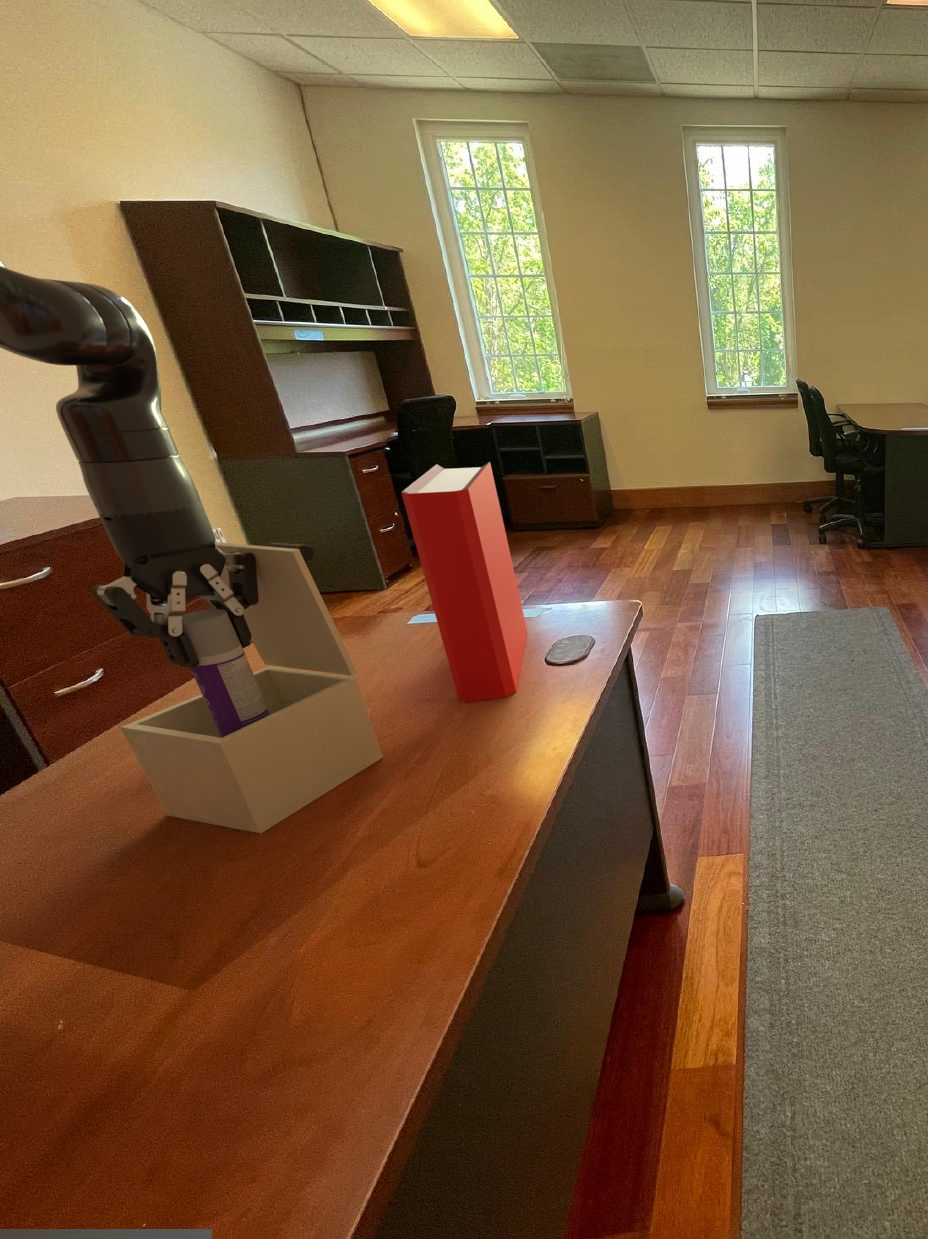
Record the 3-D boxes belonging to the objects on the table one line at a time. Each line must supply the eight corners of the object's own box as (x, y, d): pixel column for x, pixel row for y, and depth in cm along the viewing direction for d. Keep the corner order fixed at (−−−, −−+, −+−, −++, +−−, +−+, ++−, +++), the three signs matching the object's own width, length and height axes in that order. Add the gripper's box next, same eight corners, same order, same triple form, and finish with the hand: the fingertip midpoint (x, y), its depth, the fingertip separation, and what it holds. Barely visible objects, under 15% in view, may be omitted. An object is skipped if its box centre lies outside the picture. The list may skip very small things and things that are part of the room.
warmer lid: (292, 551, 74) (335, 534, 79) (197, 543, 77) (244, 527, 82) (352, 675, 83) (387, 654, 87) (264, 664, 86) (303, 644, 90)
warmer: (260, 833, 74) (219, 743, 69) (166, 815, 77) (120, 727, 72) (383, 757, 88) (356, 677, 83) (300, 744, 91) (268, 666, 86)
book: (480, 638, 125) (436, 464, 112) (527, 632, 127) (490, 461, 114) (457, 704, 101) (398, 494, 88) (515, 695, 104) (466, 490, 91)
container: (212, 741, 77) (157, 621, 71) (255, 721, 81) (207, 606, 75) (243, 747, 76) (190, 626, 70) (285, 727, 80) (238, 610, 74)
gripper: (200, 488, 74) (255, 629, 81) (28, 516, 62) (111, 680, 69) (252, 492, 73) (304, 635, 80) (88, 521, 60) (167, 688, 67)
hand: (215, 655), depth 74 cm, fingers closed on container, 4 cm apart
